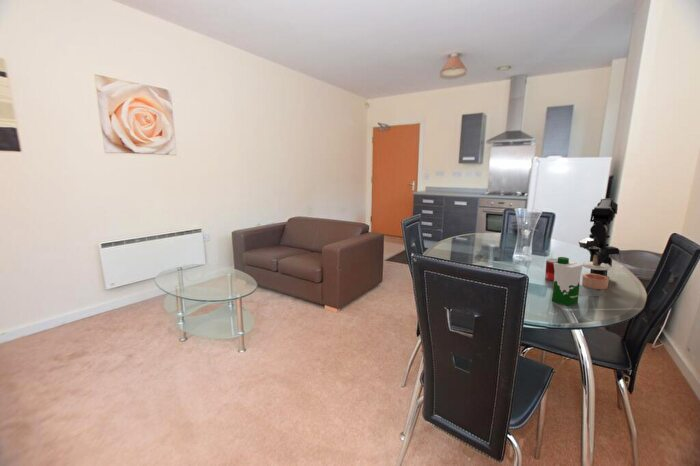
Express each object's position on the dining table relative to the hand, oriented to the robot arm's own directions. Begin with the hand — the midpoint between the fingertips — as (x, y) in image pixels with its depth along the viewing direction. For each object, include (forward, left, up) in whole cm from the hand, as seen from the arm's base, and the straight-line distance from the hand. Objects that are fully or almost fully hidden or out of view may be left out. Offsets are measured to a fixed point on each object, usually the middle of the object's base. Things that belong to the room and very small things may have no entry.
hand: (596, 263), depth 152 cm
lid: (0, 0, -2) cm, 2 cm away
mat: (+10, +6, -12) cm, 17 cm away
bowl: (0, 0, -12) cm, 12 cm away
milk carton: (+26, +19, -12) cm, 34 cm away
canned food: (+14, -10, -12) cm, 21 cm away
